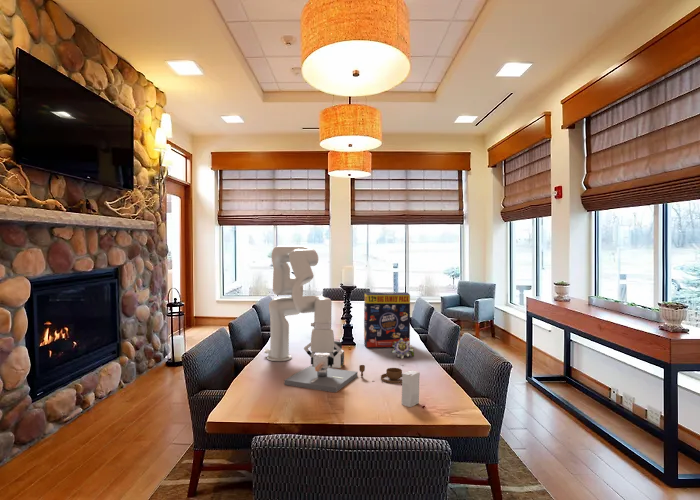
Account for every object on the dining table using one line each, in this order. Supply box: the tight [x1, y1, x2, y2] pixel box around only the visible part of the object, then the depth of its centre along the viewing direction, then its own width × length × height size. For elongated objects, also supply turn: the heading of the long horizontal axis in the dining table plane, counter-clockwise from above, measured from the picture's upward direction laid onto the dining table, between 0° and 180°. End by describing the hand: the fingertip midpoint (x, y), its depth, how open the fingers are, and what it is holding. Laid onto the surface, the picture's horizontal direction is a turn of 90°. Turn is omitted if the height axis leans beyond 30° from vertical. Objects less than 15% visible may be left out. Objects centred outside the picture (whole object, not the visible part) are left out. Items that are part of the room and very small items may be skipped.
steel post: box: [317, 368, 327, 377], centre depth 194 cm, size 4×4×4 cm
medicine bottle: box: [328, 340, 345, 369], centre depth 217 cm, size 7×7×12 cm
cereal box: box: [363, 291, 411, 349], centre depth 260 cm, size 27×11×32 cm, turn 97°
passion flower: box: [390, 338, 415, 360], centre depth 236 cm, size 11×11×12 cm
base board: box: [283, 365, 358, 393], centre depth 194 cm, size 24×24×2 cm
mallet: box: [313, 353, 331, 371], centre depth 191 cm, size 6×11×5 cm, turn 167°
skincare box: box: [401, 370, 421, 408], centre depth 166 cm, size 6×4×12 cm
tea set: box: [358, 364, 403, 384], centre depth 199 cm, size 18×20×6 cm
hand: (322, 365), depth 194 cm, fingers closed on mallet, 7 cm apart
